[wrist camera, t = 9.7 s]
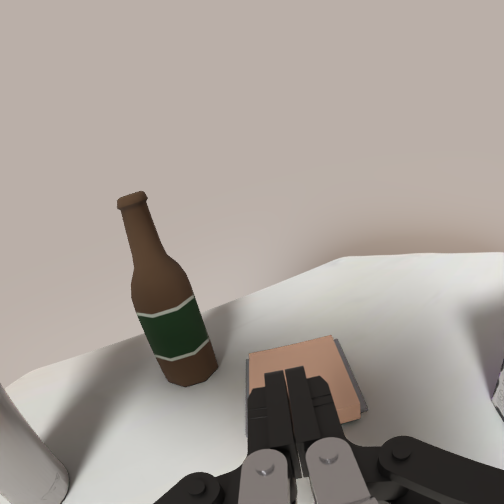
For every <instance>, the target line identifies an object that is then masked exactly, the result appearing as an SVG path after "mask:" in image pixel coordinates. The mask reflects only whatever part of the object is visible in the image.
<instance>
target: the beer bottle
mask: <svg viewBox="0 0 504 504" xmlns="http://www.w3.org/2000/svg"><path fill="white" fill-rule="evenodd" d="M147 199H148V198H147V196H146V194H145V192H143V191H139V192H136V193H132V194H129V195H127V196H123V197H121V198H119V199H118V200H117V208H118V209H119V210H121V213H122V217H123V221H124V226H125V230H126V233H127V237H128V241H129V245H130V249H131V253H132V257H133V263H134V272H133V277H132V282H131V298H132V301H133V304H134V308H135V311H136V313H137V316H138V318H139V321H140V323H141V325H142V328H143V330H144V332H145V335H146V337H147V339H148V341H149V344H150V346H151V348H152V350H153V352H154V355H155V357H156V359H157V361H158V363H159V365H160V367H161V369H162V371H163V373H164V375H165V377H166V378H167V380H168V381H169V382H171V383H174V384H177V385H180V386H183V387H187V386H191V385H194V384H197V383H201V382H204V381H206V380H207V379H208V378H209V377H210V376H211V375H212V374H213V373H214V371H215V370H216V369H217V368H218V364H217V361H216V358H215V354H214V351H213V348H212V344H211V342H210V339H209V336H208V333H207V331H206V328H205V325H204V322H203V319H202V316H201V314H200V311H199V308H198V305H197V302H196V299H195V296H194V293H193V290H192V287H191V284H190V282H189V280H188V277H187V275H186V273H185V272H184V270H183V269H182V268H181V266H180V265H179V264H178V263H177V262H176V261H175V260H173V259H172V258H171V257H170V256H168V255H167V254H166V252H165V250H164V248H163V246H162V244H161V241H160V239H159V236H158V233H157V231H156V228H155V225H154V223H153V220H152V218H151V214H150V212H149V209H148V206H147V203H146V200H147Z"/></svg>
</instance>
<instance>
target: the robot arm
mask: <svg viewBox="0 0 504 504" xmlns="http://www.w3.org/2000/svg"><path fill="white" fill-rule="evenodd" d="M285 375H286V381H287V385H286V381H285V376H284V371H283V370H279V371H274V372H269V373H264V379H265V387H259V388H253V389H252V391H251V393H250V395H249V397H248V399H247V410H248V412H247V418H248V420H247V421H248V454H247V457H246V459H245V460H244V462H243V464H242V465H241V466H240V467H238V468H237V469H235V470H234V471H231V472H229V473H226V474H223V475H220V476H217V477H214V476H213V475H211V474H208V473H204V472H196V473H191V474H189V475H187V476H185V477H184V478H182V479H181V480H180V481H179V482H178V483H177V484H176V485H175V486H173V487H172V488H171V489H170V490H169V491H168V492H167V493H165V494H164V495H163V496H162V497H161V498H160V499H158V500H157V501H156V502H155V503H154V504H297V485H296V479H298V478H302V475H301V469H300V462H301V467H302V471H303V476H304V477H308V476H309V479H310V484H311V489H312V495H313V499H314V502H315V504H504V470H502V469H498V468H495V467H492V466H489V465H486V464H482V463H479V462H476V461H473V460H471V459H468V458H465V457H462V456H459V455H456V454H454V453H451V452H448V451H445V450H443V449H440V448H438V447H435V446H432V445H430V444H427V443H425V442H422V441H420V440H417V439H415V438H413V437H409V436H398V437H394V438H392V439H390V440H388V441H387V442H385V443H384V444H383V445H382V447H362V446H358V445H355V444H353V443H351V442H350V441H348V440H347V439H346V437H345V436H344V433H343V430H342V427H341V423H340V420H339V417H338V414H337V410H336V407H335V404H334V401H333V397H332V395H331V391H330V388H329V385H328V383H327V382H326V381H325V380H324V379H323V378H322V377H321V376H315V377H311V378H306V374H305V370H304V366H299V367H294V368H289V369H285ZM287 387H288V390H287ZM288 393H289V395H288ZM298 453H299V455H298ZM299 458H300V462H299ZM68 486H69V476H68V472H67V470H66V468H65V467H64V466H63V464H62V463H61V462H60V461H59V460H58V459H57V458H56V457H55V456H54V454H53V453H52V452H51V451H50V450H49V449H48V447H47V446H46V445H45V444H44V443H43V441H42V440H41V439H40V438H39V436H38V435H37V434H36V433H35V432H34V430H33V429H32V428H31V426H30V425H29V424H28V423H27V421H26V420H25V419H24V417H23V416H22V414H21V413H20V412H19V410H18V409H17V408H16V406H15V405H14V403H13V402H12V400H11V399H10V397H9V396H8V394H7V393H6V391H5V390H4V388H3V387H2V385H1V384H0V494H1V495H2V496H3V497H4V498H6V499H7V500H8V501H9V502H10V503H11V504H60V503H61V501H62V500H63V499H64V497H65V495H66V493H67V490H68Z"/></svg>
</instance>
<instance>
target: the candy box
mask: <svg viewBox="0 0 504 504" xmlns="http://www.w3.org/2000/svg"><path fill="white" fill-rule="evenodd" d="M492 402H493V404H494V405H495V407H496V409H497V411H498V413H499V414H500V416H501V417H502V419H503V421H504V360H503V364H502V368H501V371H500V375H499V378H498V381H497V384H496V388H495V391H494V394H493V397H492Z"/></svg>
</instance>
